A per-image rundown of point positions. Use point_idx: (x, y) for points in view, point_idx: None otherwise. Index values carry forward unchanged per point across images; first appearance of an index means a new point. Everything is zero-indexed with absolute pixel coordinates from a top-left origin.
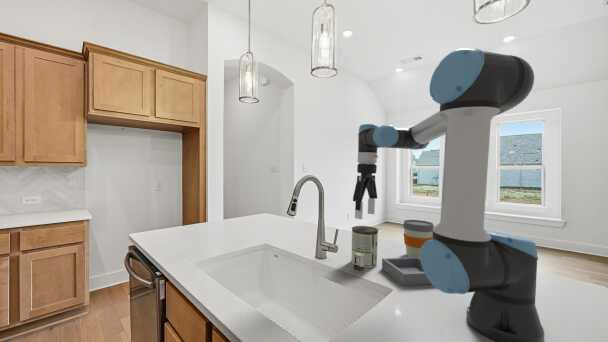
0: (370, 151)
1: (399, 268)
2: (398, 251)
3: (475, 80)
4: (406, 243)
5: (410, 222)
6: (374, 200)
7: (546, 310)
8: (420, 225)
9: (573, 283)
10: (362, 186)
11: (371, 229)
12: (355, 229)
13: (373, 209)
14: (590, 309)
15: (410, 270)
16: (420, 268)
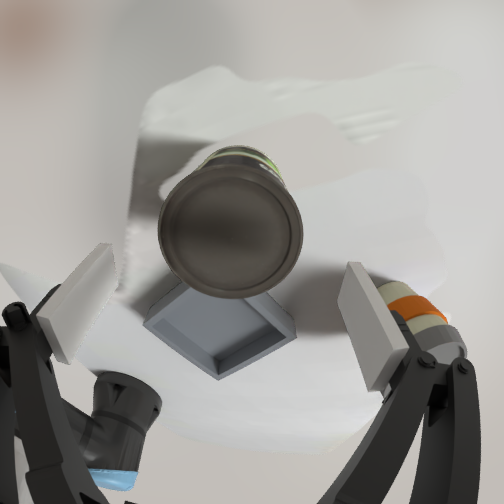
0: None
1: None
2: (413, 257)
3: None
4: (388, 308)
5: (445, 352)
6: (369, 380)
7: (214, 428)
8: (383, 392)
9: (328, 445)
10: (5, 465)
11: (241, 268)
12: (178, 199)
13: (346, 322)
14: (248, 447)
15: (238, 316)
16: (269, 331)
